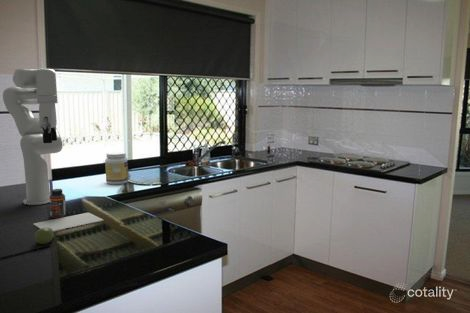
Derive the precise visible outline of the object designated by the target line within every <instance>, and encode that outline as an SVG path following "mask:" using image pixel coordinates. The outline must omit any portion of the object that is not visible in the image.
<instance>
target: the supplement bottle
mask: <svg viewBox="0 0 470 313" xmlns="http://www.w3.org/2000/svg"><path fill="white" fill-rule="evenodd" d="M49 196H50V202H49V212H50V214H49V215H50V217H51V218H52V219H58V218H63V217H67V216H66V215H67V208H66V195H65V194H64V193H63V189H61V188H54V189H52V190H51V195H49Z"/></svg>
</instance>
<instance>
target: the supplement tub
mask: <svg viewBox="0 0 470 313" xmlns="http://www.w3.org/2000/svg"><path fill="white" fill-rule="evenodd" d="M105 156H106V158H105V161H104V163H105V164H104V165H105V181H106V183H107V184H108V185H122V184H127V183H128V182H129V165H128V164H129V162H128V158H127V157H126V156H127V154H126V152H124V151H114V152H113V151H112V152H108V153H106V155H105Z"/></svg>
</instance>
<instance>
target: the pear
mask: <svg viewBox="0 0 470 313" xmlns="http://www.w3.org/2000/svg"><path fill="white" fill-rule="evenodd" d="M54 238H55V232H53V230H52V229H51V228H41V229H39V228H38V230H37V231H36V232H35V235H34V240H35V242H36V243H37V244H39V245H47V244H49V243H50V242H51V241H52V240H53V239H54Z"/></svg>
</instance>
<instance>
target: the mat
mask: <svg viewBox="0 0 470 313" xmlns="http://www.w3.org/2000/svg"><path fill="white" fill-rule="evenodd" d="M104 221H105V219H103V218H101V217H99V216H96V215H95V214H93V213H91V212H83V213H80V214H75V215H69V216H65V217H62V218H52V219H48V220H44V221H39V222H35V223H33V226H35V227H36V228H38V230H39V229H41V228H51V229H52V230H53V232H54V233H56V232H58V231H64V230H67V229H66V228H69V229H72V227H73V228H78V227H82V226H86V224H87V225H91V224H95V223H100V222H104ZM81 225H82V226H81ZM77 226H78V227H77Z"/></svg>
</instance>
